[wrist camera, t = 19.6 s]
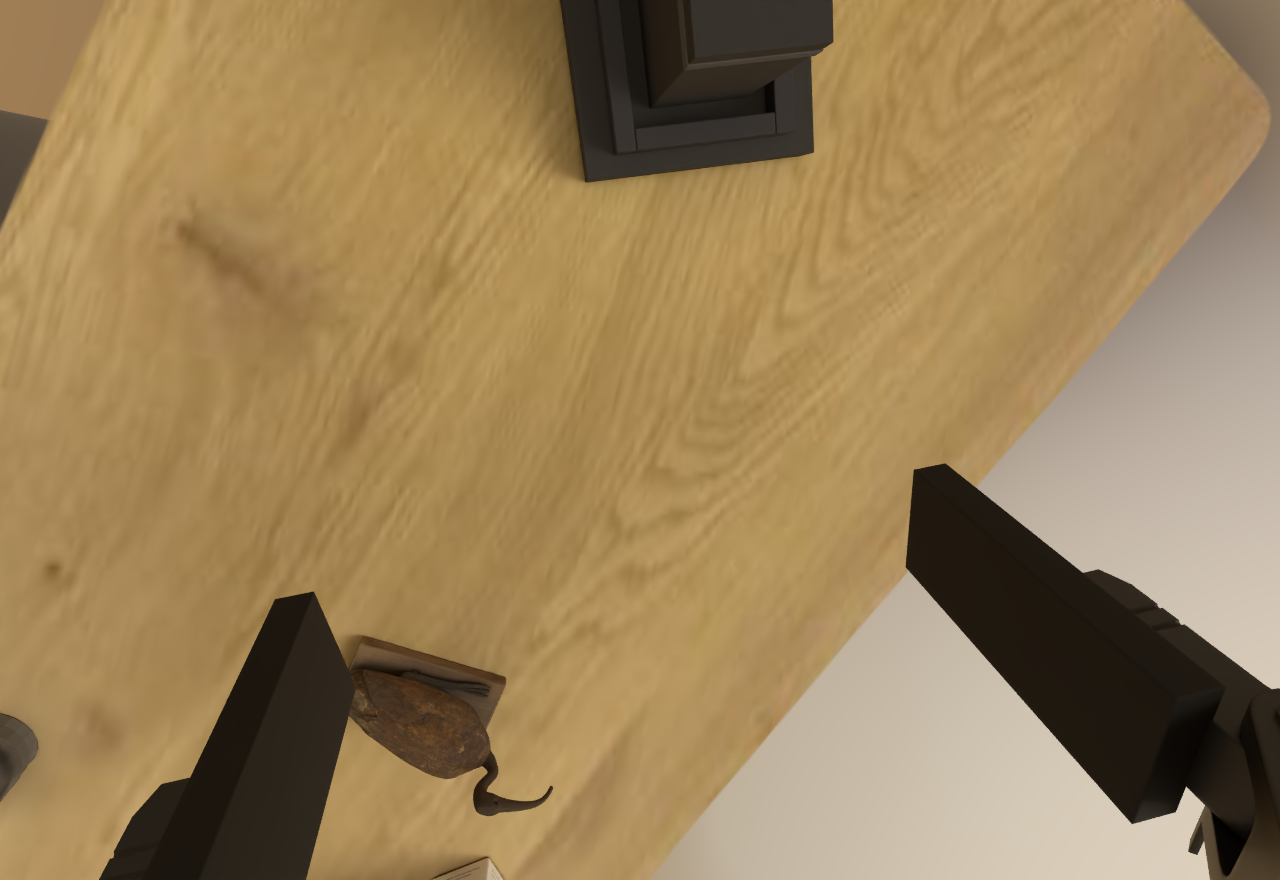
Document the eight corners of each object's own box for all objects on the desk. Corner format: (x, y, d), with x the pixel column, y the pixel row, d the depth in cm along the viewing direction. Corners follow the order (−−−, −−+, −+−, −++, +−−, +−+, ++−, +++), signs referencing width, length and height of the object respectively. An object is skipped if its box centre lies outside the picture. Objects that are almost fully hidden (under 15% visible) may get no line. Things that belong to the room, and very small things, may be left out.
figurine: (565, 693, 46) (568, 797, 38) (540, 744, 47) (538, 855, 39) (361, 634, 42) (316, 734, 34) (339, 690, 43) (291, 799, 35)
